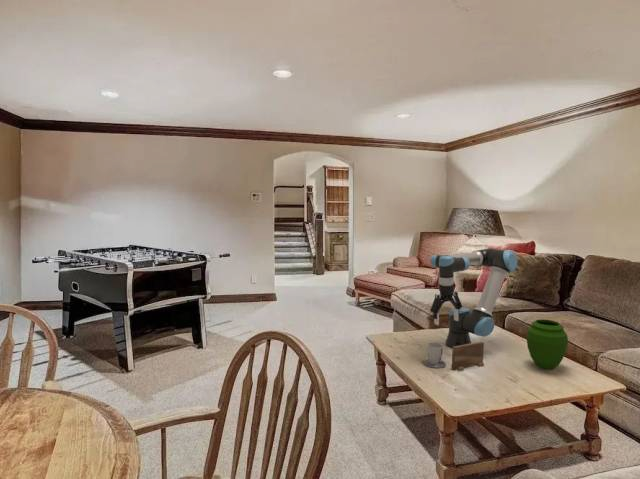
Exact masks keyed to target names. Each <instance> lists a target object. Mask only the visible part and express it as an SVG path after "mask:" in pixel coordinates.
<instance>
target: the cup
mask: <svg viewBox="0 0 640 479" xmlns="http://www.w3.org/2000/svg"><path fill="white" fill-rule="evenodd" d="M443 348H444V345H443V344H442V343H440V342H428V343H427V356H428V359H429V360H430V363H431V364H434V365H438V364H440V361H442V357H443V353H444V352H443V350H444V349H443Z"/></svg>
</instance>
